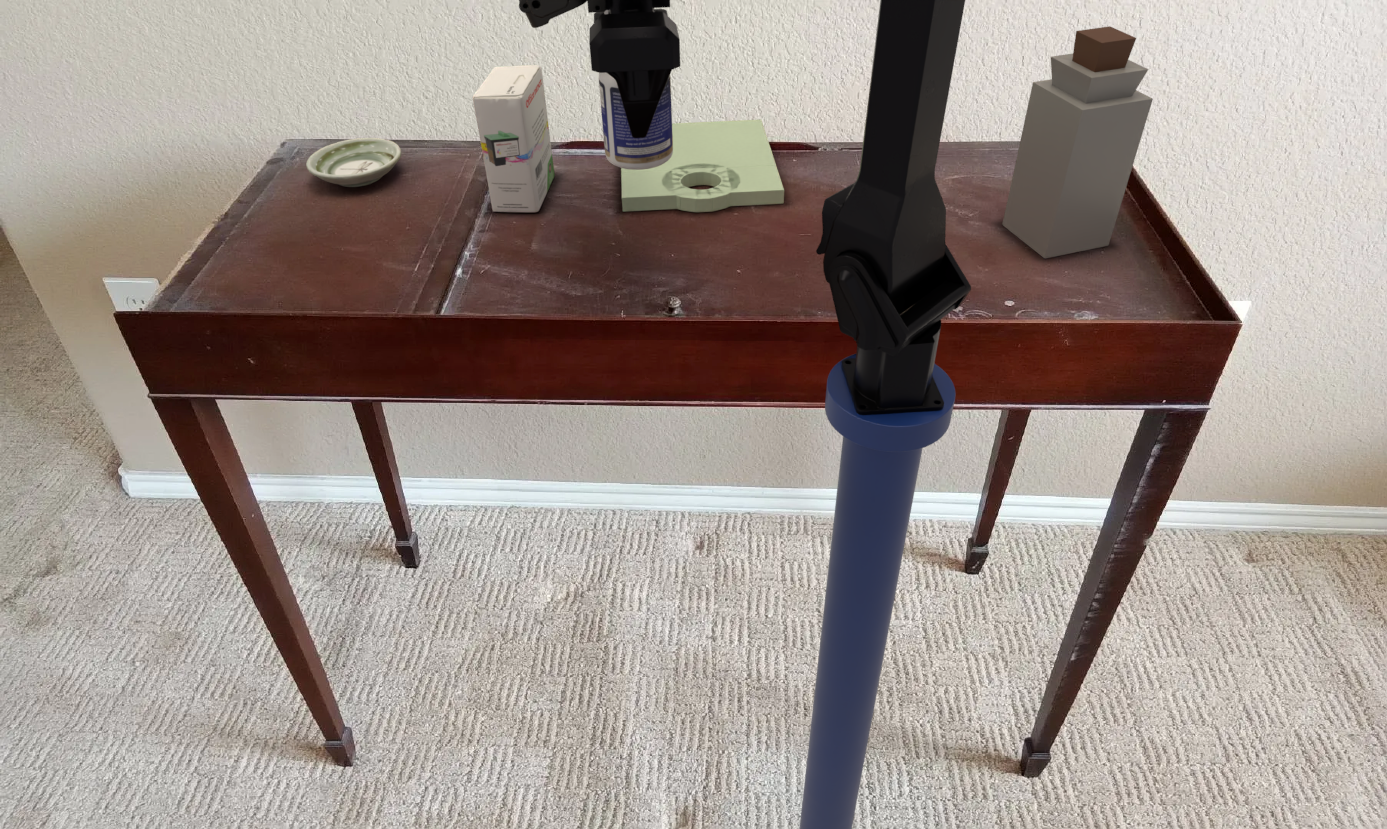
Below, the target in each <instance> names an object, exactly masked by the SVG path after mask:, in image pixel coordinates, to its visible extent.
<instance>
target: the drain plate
mask: <svg viewBox="0 0 1387 829" xmlns="http://www.w3.org/2000/svg"><path fill="white" fill-rule="evenodd" d="M672 135H673V153H672V156H671V158H670V159H669V160H668V161H667V162H665V163H664V164H662V165H660V166H657V167H654V168H649V169H642V170H631V169H624V168H620V177H621V180H620V182H621V184H620V185H621V208H622V209H621V210H622V212H641V211H645V212H646V211H660V210H661V211H662V210H663V211H664V210H680V211H682V212H689V213H712V212H717V211H721V210H724V209H728V208H730V207H741V206H742V207H743V206H765V205H782V204H785V203H784V202H785V188H784V185H783V182H782V179H781V176H780V173H779V170H778V167H777V164H776V163H777V162H776V160H775V156H774V155H773V152H772V148H771V145H770V142H769V139H768V136H767V133H766V130H765V127H764V123H763V120H762V119H742V120H741V119H740V120H739V119H737V120H720V121H719V120H718V121H698V122H697V121H695V122H677V123H676V122H675V123H674V122H672ZM695 186H710V187H711V188H706V189H697V188H691V187H695Z"/></svg>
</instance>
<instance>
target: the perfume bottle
mask: <svg viewBox="0 0 1387 829" xmlns="http://www.w3.org/2000/svg"><path fill="white" fill-rule="evenodd" d="M1136 40H1137V37H1135V36H1133V35H1131V34H1128V33H1126V32H1124V31H1121V30H1119V29H1117V28H1114V27H1113V26H1110V25H1109V26H1102V27H1093V28H1087V29H1081V30H1076V31H1075V37H1074V44H1073V51H1072V53H1066V54H1060V55H1052V56H1050V67H1051V68H1050V70H1051V72H1050V73H1051V79H1045V80H1037V81H1033V82H1032V84H1031V89H1030V94H1029V99H1028V104H1027V108H1026V113H1025V118H1024V121H1023V126H1022V130H1021V136H1020V141H1019V146H1018V151H1017V155H1016V159H1015V164H1014V168H1013V173H1012V177H1011V182H1010V187H1009V192H1008V196H1007V201H1006V206H1005V210H1004V215H1003V218H1002V219H1003V220H1002V223H1001V225H1002V226H1003V227H1004V228H1006V230H1008V231H1009V232H1010V233H1012V235H1014V236H1015V237H1017V238H1018V239H1019V240H1020V241H1022V242H1023V243H1024V244H1025V245H1027V246H1028V247H1029V248H1030V249H1032V250H1033V251H1034V252H1036V254H1038V255H1039V256H1041V257H1042V259H1050V258H1055V257H1060V256H1064V255H1065V256H1066V255H1069V254H1074V253H1078V252H1084V251H1090V250H1095V249H1099V248H1103V247H1108V246H1109V245H1110V242H1111V238H1112V236H1113V233H1114V229H1115V225H1116V222H1117V219H1118V216H1119V212H1120V209H1121V206H1122V202H1123V200H1124V196H1125V193H1126V190H1127V186H1128V182H1129V179H1130V175H1131V172H1132V169H1133V167H1134V162H1135V159H1136V156H1137V153H1138V150H1139V146H1140V143H1141V140H1142V136H1143V133H1144V130H1145V126H1146V123H1147V120H1148V117H1149V113H1150V109H1151V106H1152V103H1153V99H1154V98H1152V97H1150V96H1149V95H1146V94H1145V93H1142V92H1141V91H1139V90H1137V89H1138V87H1139V86H1140V84H1141V82H1142V81H1143V79H1144V78H1145V76H1146V75H1147V73H1148V71H1149V68H1147V67H1144V66H1143V65H1141V64H1138V63H1137V62H1135V61H1132V60H1130V59H1129V58H1130V56H1131V53H1132V50H1133V48H1134V46H1135V43H1136Z"/></svg>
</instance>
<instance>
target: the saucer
mask: <svg viewBox="0 0 1387 829" xmlns="http://www.w3.org/2000/svg"><path fill="white" fill-rule="evenodd" d="M401 157H402V149H401V147H400V145H398V143H396V142H394V141H392V140H389V139H386V138H380V137H379V138H378V137H359V138H351V139H345V140H341V141H338V142H334V143H331V144H328V145H325V146H324V147H321V148H320V149H318V150H316V151H314V152H313V153H312V154H310V156H309V157H308V158H307V160H306V162H305V163H306V166H305V167H306V169H307V171H308V172H309V173H310V174H311V175H313V176H314V177H316V178H318V179H320V180H322V181H324V182H327V183H331V184H333V185H339V186H341V187H347V188H358V187H364V186H365V187H366V186H368V185H371V184H373V183H376V182H377V181H380V180H381V179H382V178H383V176H385V175H387V174H388V173H389V172H390V171H391V170H392V169H393V168H394V167H395V166H396V165H397V163H398V162H399V161H400V160H401Z"/></svg>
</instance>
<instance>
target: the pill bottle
mask: <svg viewBox="0 0 1387 829" xmlns="http://www.w3.org/2000/svg"><path fill="white" fill-rule="evenodd" d="M671 82H672V81H671V75H670V76H669V78H668V81H667V83H666V86H665V88H664V91H663V93H662V96H661V98H660V101H659V103H658V106H657V109H656V111H655V114H654V117H653V120H652V122H651V125H650V128H649V130H648V133H647V136H646V137H644V138H633V137H632V134H631V131H630V127H629V124H628V120H627V117H626V113H625V110H624V106H623V103H622V99H621V96H620V92H619V89H618V86H617V82H616V80H615V79H614V78H613V77H612V76H610V75H609V74H608V73H599V72H598V87H599V99H600V110H601V124H602V136H603V146H604V155H605V158H606V159H607V161H608V162H609V163H610V164H612V165H613V166H615V167H617V168H620V169H621V168H624V169H631V170H642V169H649V168H654V167H657V166H660V165H662V164H664V163H665V162H667V161H668V160H669V159H670V158H671V156H672V153H673V135H672V124H673V112H672V110H673V108H672V84H671Z"/></svg>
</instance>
